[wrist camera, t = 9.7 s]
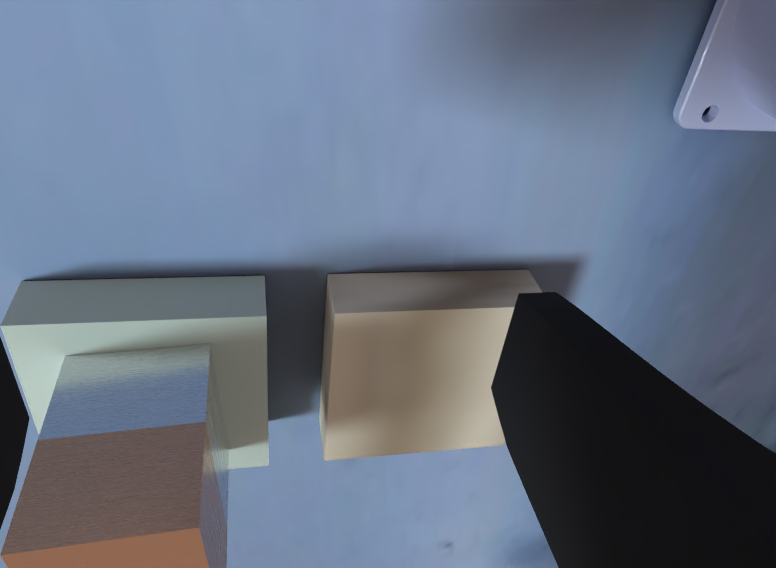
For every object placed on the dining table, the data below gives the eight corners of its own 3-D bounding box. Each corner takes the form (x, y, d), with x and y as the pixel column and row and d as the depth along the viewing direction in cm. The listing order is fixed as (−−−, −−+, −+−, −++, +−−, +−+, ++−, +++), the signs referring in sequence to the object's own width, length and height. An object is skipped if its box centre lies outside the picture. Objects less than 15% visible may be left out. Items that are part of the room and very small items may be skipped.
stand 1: (264, 275, 20) (266, 316, 18) (267, 422, 24) (268, 465, 22) (21, 281, 18) (0, 326, 16) (69, 436, 22) (56, 483, 21)
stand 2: (528, 269, 21) (551, 306, 20) (487, 406, 26) (503, 445, 24) (327, 274, 20) (334, 313, 18) (319, 418, 24) (324, 460, 23)
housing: (228, 449, 21) (225, 631, 17) (105, 464, 21) (65, 657, 16) (210, 342, 18) (198, 527, 14) (64, 355, 17) (0, 555, 13)
